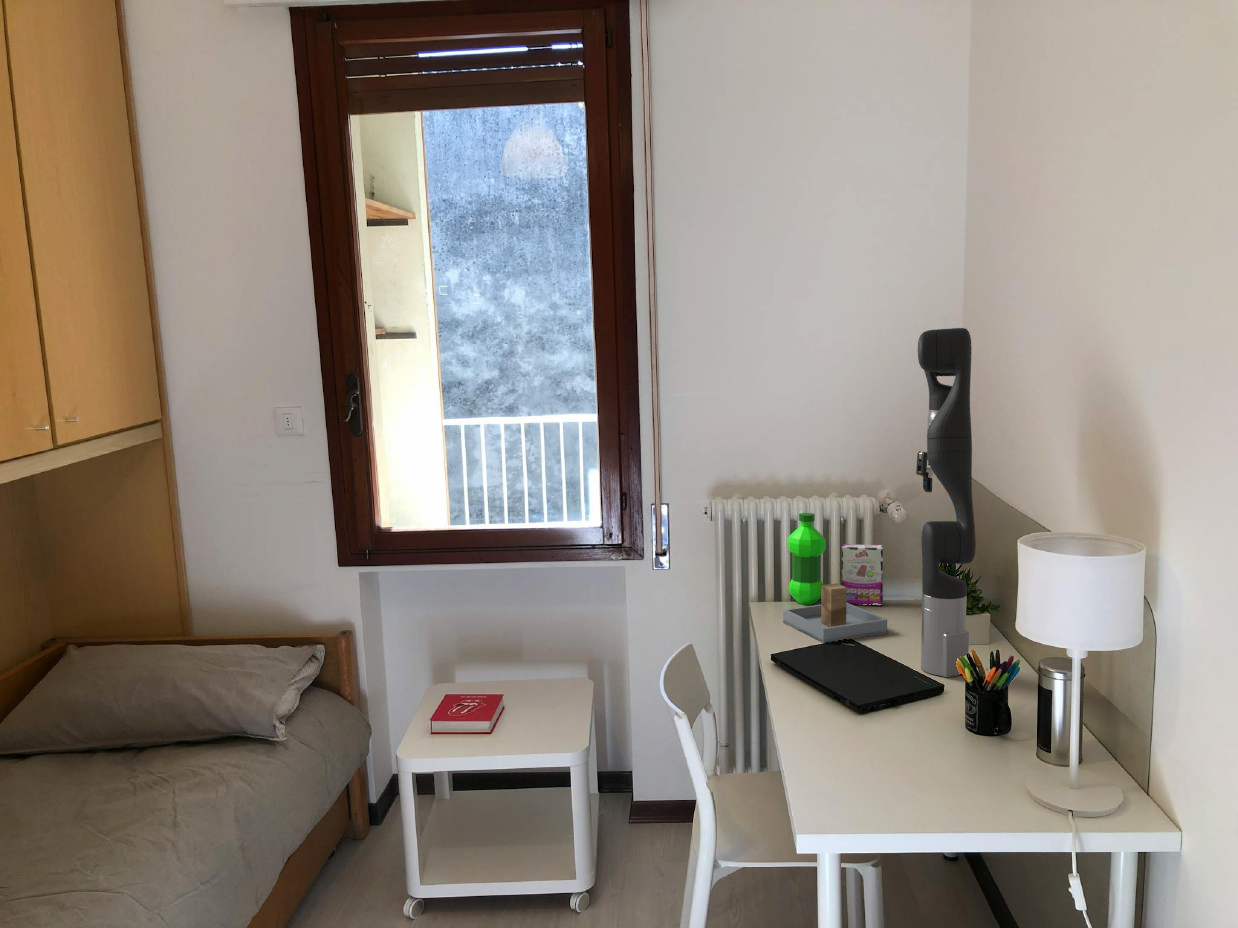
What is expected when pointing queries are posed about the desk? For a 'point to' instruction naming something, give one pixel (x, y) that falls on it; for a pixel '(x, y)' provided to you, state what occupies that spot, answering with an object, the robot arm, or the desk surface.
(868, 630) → the box
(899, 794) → the desk surface
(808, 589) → the plastic bottle
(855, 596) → the candy bar box
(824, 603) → the walnut block
